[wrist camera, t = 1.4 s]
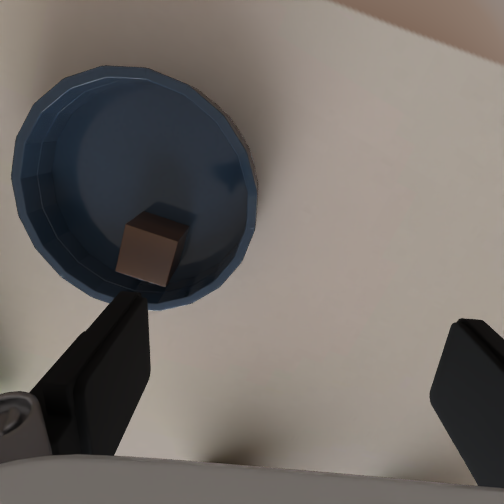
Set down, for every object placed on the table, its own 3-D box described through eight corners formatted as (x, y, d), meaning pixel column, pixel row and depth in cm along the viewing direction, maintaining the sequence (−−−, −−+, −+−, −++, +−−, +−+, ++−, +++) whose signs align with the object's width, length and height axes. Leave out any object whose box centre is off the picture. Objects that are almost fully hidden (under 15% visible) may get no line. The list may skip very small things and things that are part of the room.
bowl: (118, 20, 21) (87, -2, 18) (301, 176, 24) (308, 186, 21) (15, 205, 26) (-27, 219, 22) (180, 318, 29) (167, 347, 25)
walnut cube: (143, 210, 25) (125, 223, 22) (189, 226, 25) (178, 241, 22) (133, 252, 26) (114, 271, 23) (177, 267, 27) (165, 287, 23)
